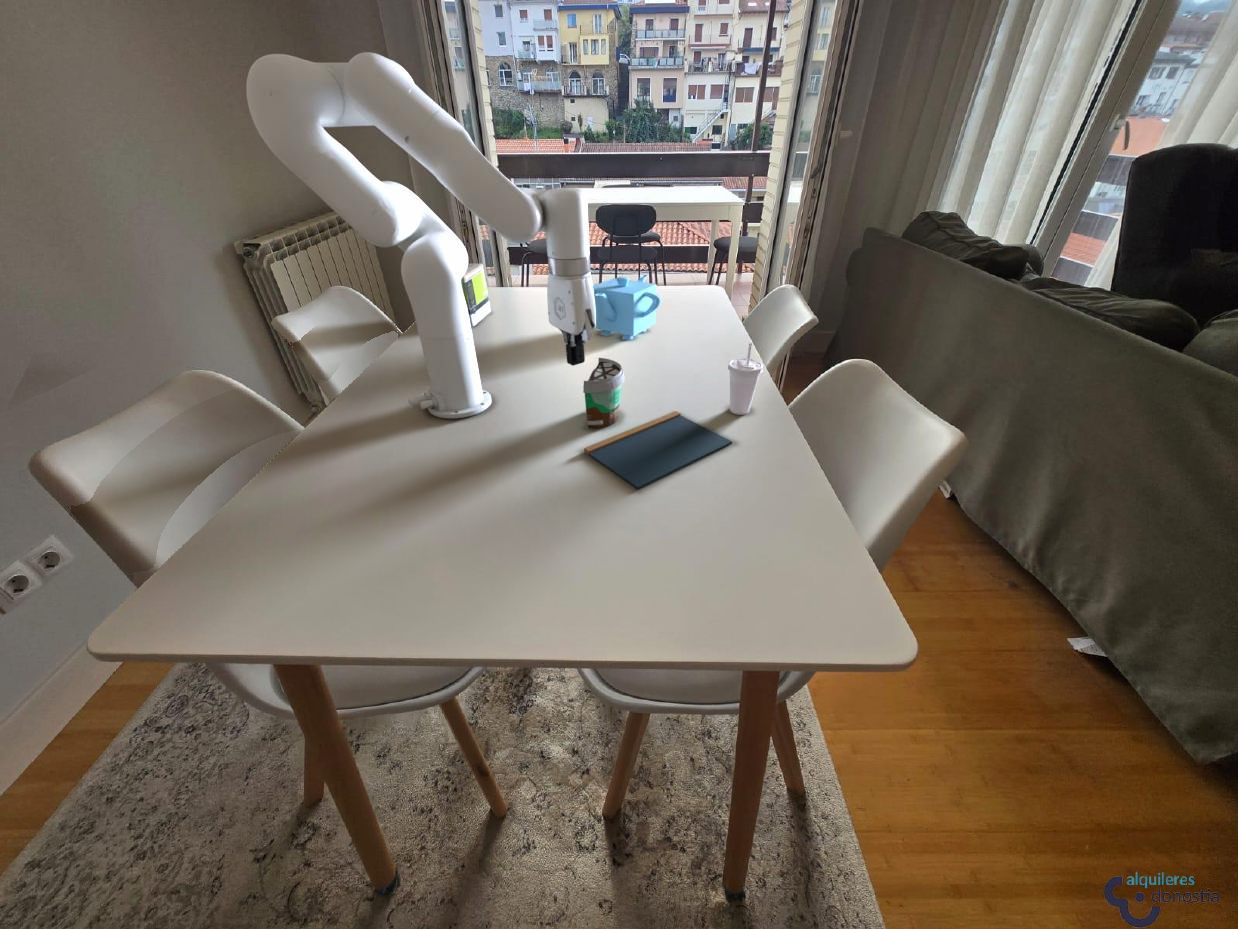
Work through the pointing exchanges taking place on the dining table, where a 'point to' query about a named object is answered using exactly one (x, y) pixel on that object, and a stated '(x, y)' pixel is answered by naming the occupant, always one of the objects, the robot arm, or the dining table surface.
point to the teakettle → (625, 306)
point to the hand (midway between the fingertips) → (576, 362)
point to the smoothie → (743, 382)
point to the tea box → (475, 293)
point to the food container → (603, 394)
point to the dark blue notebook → (656, 449)
